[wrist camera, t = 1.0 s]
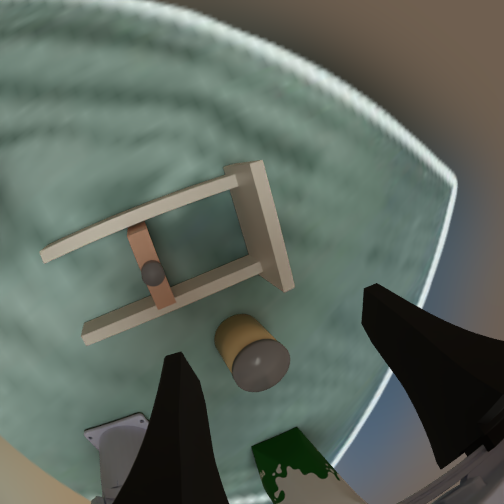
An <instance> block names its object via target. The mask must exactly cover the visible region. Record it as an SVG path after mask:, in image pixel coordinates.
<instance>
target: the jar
mask: <svg viewBox="0 0 504 504" xmlns="http://www.w3.org/2000/svg"><path fill="white" fill-rule="evenodd" d="M214 342H215V346H216V348H217V350H218V352H219V353H220V355H221V357H222V358H223V360H224V362H225V363H226V365H227V367H228V368H229V370H230V372H231V373H232V376H233V378H234V380H235V382H236V384H237V385H238V386H239V387H240V388H241V389H243V390H245V391H249V392H260V391H264V390H267V389H269V388H271V387H273V386H274V385H276V384H277V383H278V382H279V381H280V380H281V379H282V378H283V377H284V375H285V374H286V372H287V370H288V368H289V364H290V355H289V352H288V350H287V349H286V348H285V347H284V346H283V345H282V344H281V343H280V342H278V341H277V340H276V339H275V338H274V337H273V336H272V335H271V334H270V333H269V332H268V331H267V330H266V329H265V328H264V327H263V326H262V325H261V324H260V323H259V322H258V321H257V320H256V319H255V318H254V317H252V316H250V315H247V314H237V315H233V316H231V317H229V318H227V319H226V320H224V321H223V322H222V323H221V324H220V326H219V327H218V329H217V330H216V333H215V338H214Z"/></svg>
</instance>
